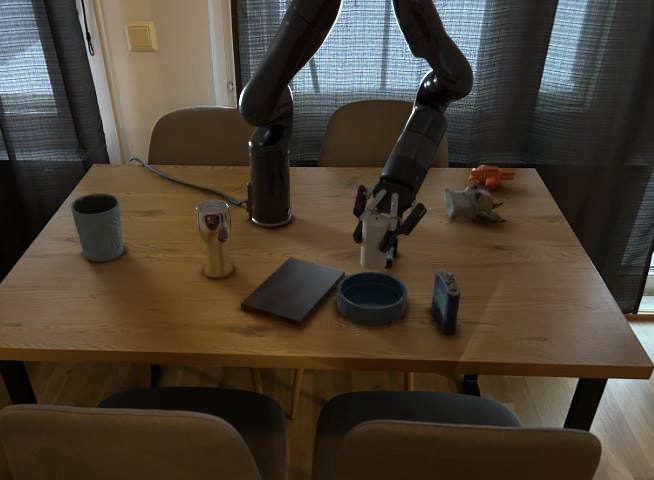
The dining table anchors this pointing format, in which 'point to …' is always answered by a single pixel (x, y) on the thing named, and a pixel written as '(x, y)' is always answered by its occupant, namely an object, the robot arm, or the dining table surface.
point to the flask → (445, 301)
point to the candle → (374, 241)
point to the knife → (391, 255)
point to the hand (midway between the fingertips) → (369, 246)
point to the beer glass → (215, 237)
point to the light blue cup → (98, 226)
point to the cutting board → (293, 291)
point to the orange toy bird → (490, 175)
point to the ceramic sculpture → (472, 204)
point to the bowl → (371, 298)
